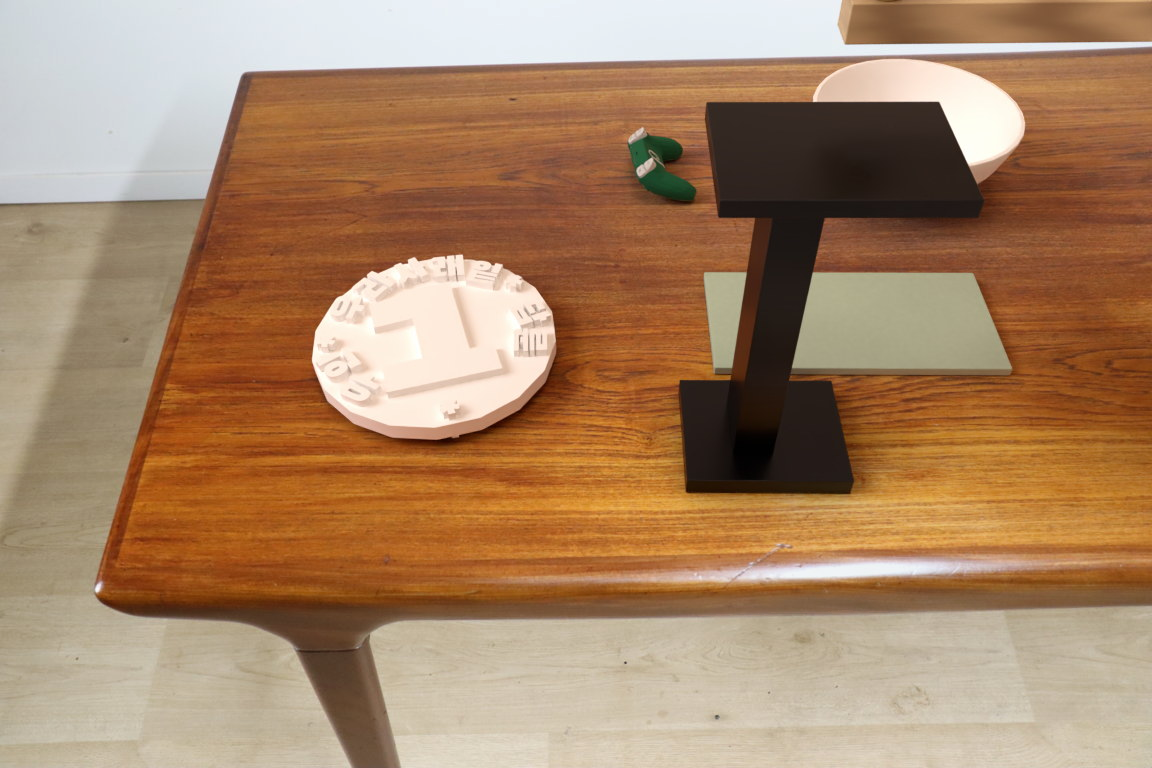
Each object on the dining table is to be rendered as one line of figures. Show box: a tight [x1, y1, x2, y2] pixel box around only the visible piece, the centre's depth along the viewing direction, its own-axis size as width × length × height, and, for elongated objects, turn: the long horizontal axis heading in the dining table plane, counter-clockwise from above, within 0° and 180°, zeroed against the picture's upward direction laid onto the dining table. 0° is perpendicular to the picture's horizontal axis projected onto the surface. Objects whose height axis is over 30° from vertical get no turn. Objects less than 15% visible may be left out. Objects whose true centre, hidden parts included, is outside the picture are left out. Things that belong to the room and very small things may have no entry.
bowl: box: [812, 58, 1026, 186], centre depth 92 cm, size 20×19×8 cm
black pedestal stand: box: [677, 101, 986, 495], centre depth 63 cm, size 14×10×26 cm
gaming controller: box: [627, 126, 698, 202], centre depth 95 cm, size 9×4×6 cm
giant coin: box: [311, 254, 557, 441], centre depth 78 cm, size 20×20×3 cm
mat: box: [703, 271, 1013, 376], centre depth 81 cm, size 24×12×1 cm, turn 89°
